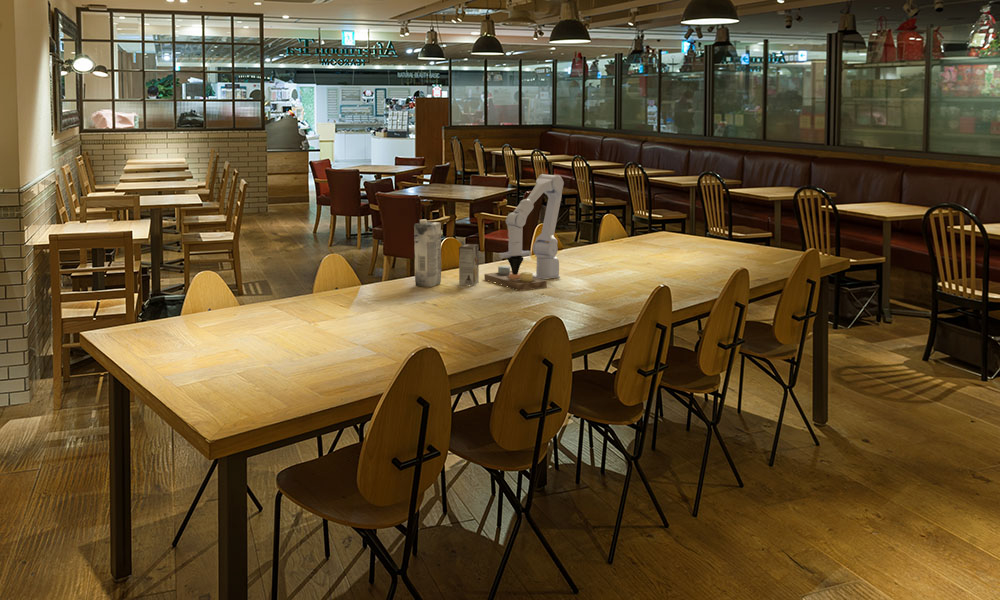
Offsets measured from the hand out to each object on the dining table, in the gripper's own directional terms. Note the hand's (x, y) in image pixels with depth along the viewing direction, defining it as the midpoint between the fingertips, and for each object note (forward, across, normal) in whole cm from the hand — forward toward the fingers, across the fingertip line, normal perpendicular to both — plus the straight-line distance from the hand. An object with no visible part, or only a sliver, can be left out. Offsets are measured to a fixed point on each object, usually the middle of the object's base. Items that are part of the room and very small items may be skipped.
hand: (515, 274), depth 367 cm
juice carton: (+4, +33, -15) cm, 36 cm away
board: (+4, 0, 0) cm, 4 cm away
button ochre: (+2, 0, +8) cm, 9 cm away
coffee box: (+4, +17, -9) cm, 20 cm away
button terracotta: (+3, 0, 0) cm, 3 cm away
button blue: (+2, 0, -8) cm, 9 cm away
